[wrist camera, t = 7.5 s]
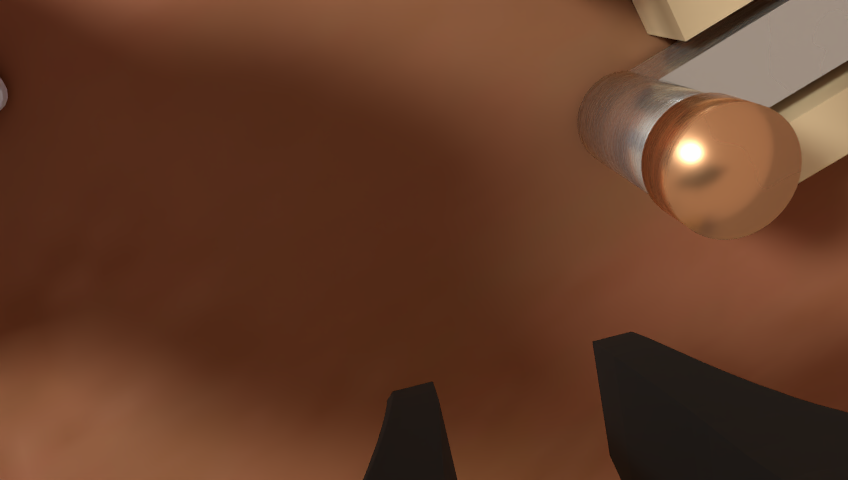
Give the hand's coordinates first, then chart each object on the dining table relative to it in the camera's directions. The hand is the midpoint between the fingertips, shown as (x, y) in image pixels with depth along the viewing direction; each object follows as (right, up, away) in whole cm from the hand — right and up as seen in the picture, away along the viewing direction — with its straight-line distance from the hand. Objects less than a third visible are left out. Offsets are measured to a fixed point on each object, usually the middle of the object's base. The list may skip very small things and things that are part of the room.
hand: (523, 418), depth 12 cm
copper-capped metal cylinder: (+6, +7, +8) cm, 12 cm away
